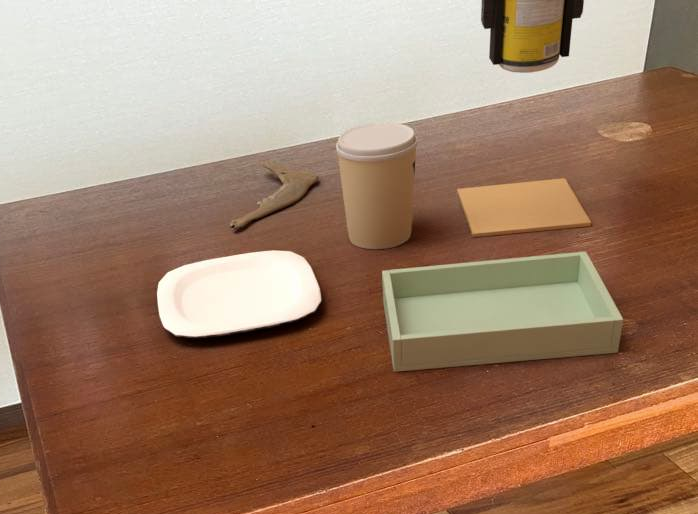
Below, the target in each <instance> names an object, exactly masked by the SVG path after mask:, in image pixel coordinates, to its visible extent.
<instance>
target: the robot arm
mask: <svg viewBox="0 0 698 514" xmlns="http://www.w3.org/2000/svg"><path fill="white" fill-rule="evenodd" d="M584 4H585V0H564V10H563V21H562V32H561V43H560V55H559V57H561V58H565V57H566V58H567V57H570V51H571V41H572V31H573V29H572V28H573V20H574V19H580V18H581V17H582V16H583V12H584ZM503 7H504V0H481V10H480V11H481V12H480V14H481V15H480V22H481V26H482V27H483V29H484V30H489V31H490V33H489V51H488V52H489V54H488V55H489V56H488V58H489V60H490V62H491V63H492V65H493V66H495V65H498V66H499V64H501V46H502V27H503Z"/></svg>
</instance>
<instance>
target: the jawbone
mask: <svg viewBox="0 0 698 514" xmlns="http://www.w3.org/2000/svg"><path fill="white" fill-rule="evenodd" d="M260 166H262V167H264V168H265V169H267V170H269V171H270V172H271V173H272V174H274V175H275V176H276V177H277V178H278V179H279V180H280V182H281V183H282V185H281V186H280V187H279V188H278V190H276V191H275V192H273V194H272V195H268V197H263V199H262V200H260V201H257V203H256V205H257V206H259V207H258V208H257V209H256V210H254V211H251V212H250V213H248V214H245V215H243V216H240V217H239V218H236V219H231V221H230V223H229V227H230V228H231V229H233V230H237V229H239V228H245V227H246V226H247V225H248V224H249V223H251V222H252V221H254V220H258V219H261V218H263V217H265V216H267V215H269V214H272V213H274V212H277V211H279V210H282V209H284V208H286V207H289V206H290V205H293V204H295V203H297V202H298V201H300V200H301V199H302V198H303V197H304V196H305V194H307V192H308V189H310V187H311V186H312V185H313V184H315V183H316V182H318V181H319V175H318V174H316V173H314V172H311V171H308V170H293V169H289V168H286V167H284V166H283V165H282V164H281V163H279V162H278V163H277V165H275V164H274V163H271V162H270V161H266V160H265V159H262V160H261V161H260Z"/></svg>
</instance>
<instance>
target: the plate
mask: <svg viewBox="0 0 698 514" xmlns="http://www.w3.org/2000/svg"><path fill="white" fill-rule="evenodd" d="M315 275H316V274H315V273H314V270H313V268H312V266H311V264H309V262H308V261H307V259H306V258H305V257H304V256H302V255H299V254H297V253H295V252H294V251H291V250H275V249H273V250H262V251H255V252H254V251H253V252H247V253H241V254H233V255H229V256H222V257H216V258H210V259H205V260H201V261H197V262H193V263H189V264H183V265H182V266H179V267H176V268H174V269H173V270H170V271H168V272H167V273H165V275H163V277H162V278H161V279H160V281H158V285H157V291H156V298H157V299H156V301H157V309H158V315H159V320H160V321H161V324H162V326H163V329H164V330H165V331H167V332H169V333H170V334H172V335H173V336H175V337H177V338H186V339H187V338H189V339H205V338H215V337H223V336H230V335H237V334H240V333H248V332H253V331H259V330H263V329H270V328H274V327H278V326H279V327H280V326H282V325H287V324H290V323H296V322H298V321H300V320H303V319H304V318H306V317H308V316H310V315H313V314H315V312H316V311H317V310H318V308H319V306H320V305H321V303H322V293H321V288H320V285H319V282H318V279H317V277H316V276H315Z"/></svg>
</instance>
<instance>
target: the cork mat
mask: <svg viewBox="0 0 698 514" xmlns="http://www.w3.org/2000/svg"><path fill="white" fill-rule="evenodd" d="M457 195H458V199H459V201H460V204H461V207H462V210H463V213H464V215H465V218H466V221H467V225H468V227H469V230H470V233H471V236H472V238H481V237H490V236H491V237H492V236H493V237H494V236H502V235H503V236H504V235H511V234H512V235H513V234H522V233H523V234H525V233H534V232H544V231H555V230H564V229H575V228H587V227H591V226H592V221H591V220H590V218H589V216H588V214H587V213H586V211H585V209H584V208H583V206H582V204H581V203H580V201H579V199H578V198H577V196H576V194H575V193H574V191H573V189H572V187H571V186H570V184H569V182H568V180H567V179H566V178H565V177H564V178H563V177H562V178H553V179H544V180H543V179H542V180H534V181H523V182H514V183H503V184H494V185H484V186H474V187H472V186H471V187H463V188H462V187H461V188H457Z"/></svg>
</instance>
